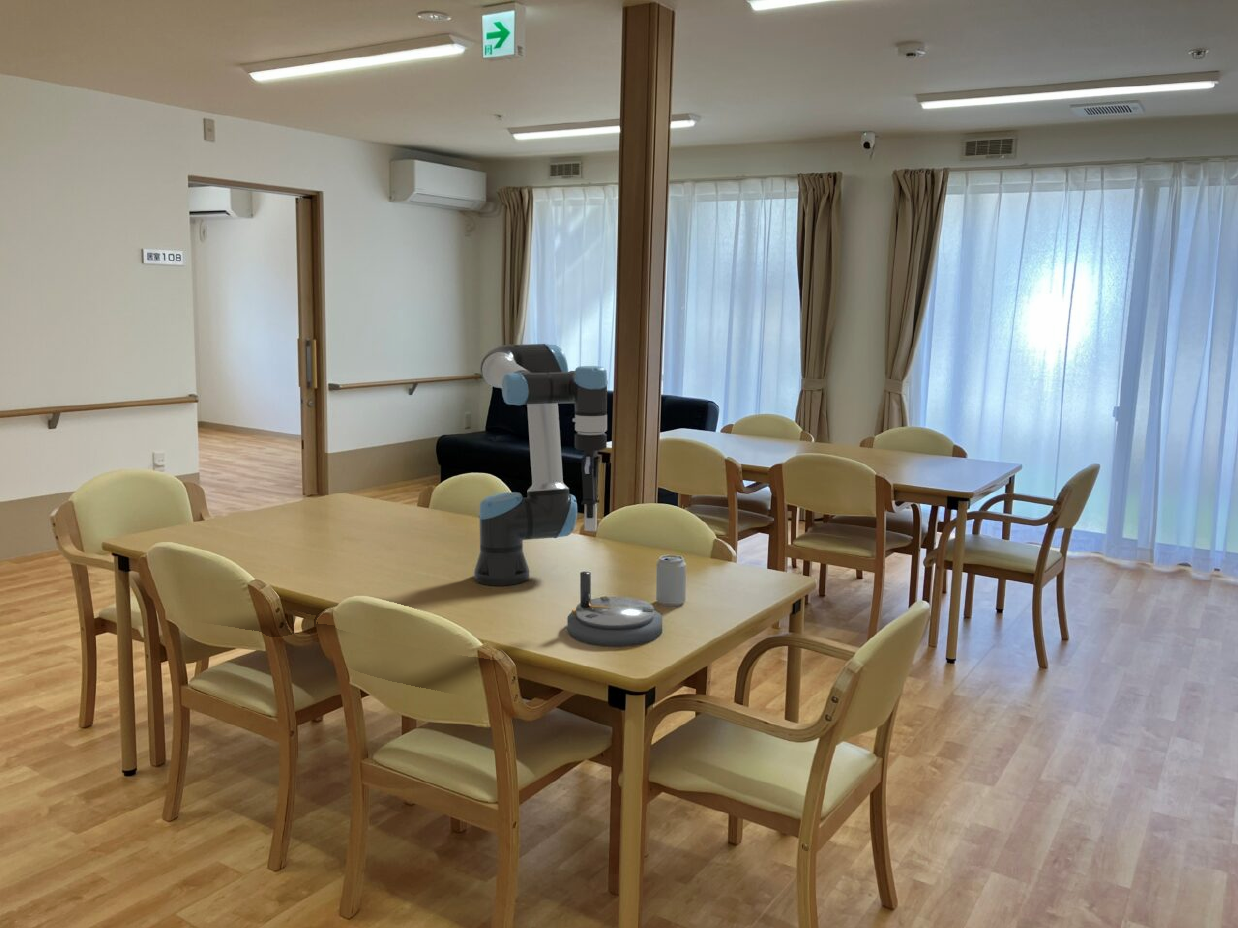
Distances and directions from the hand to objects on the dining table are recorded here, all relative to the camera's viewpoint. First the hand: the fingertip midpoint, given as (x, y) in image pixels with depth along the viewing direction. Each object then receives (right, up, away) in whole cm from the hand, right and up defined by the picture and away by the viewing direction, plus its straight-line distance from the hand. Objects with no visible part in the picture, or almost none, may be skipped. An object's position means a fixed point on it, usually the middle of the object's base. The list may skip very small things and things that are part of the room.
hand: (590, 530), depth 231 cm
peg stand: (+6, -20, -7) cm, 22 cm away
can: (+20, -20, +15) cm, 32 cm away
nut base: (+6, -23, -6) cm, 24 cm away
